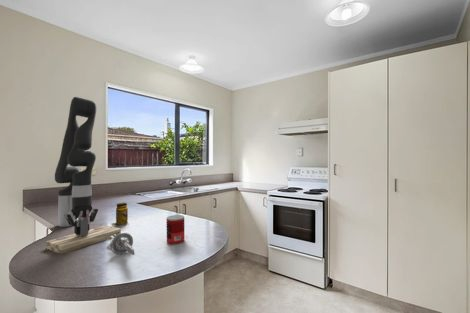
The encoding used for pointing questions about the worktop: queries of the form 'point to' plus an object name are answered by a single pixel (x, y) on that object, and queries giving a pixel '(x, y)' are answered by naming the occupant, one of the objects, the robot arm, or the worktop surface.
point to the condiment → (121, 215)
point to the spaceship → (122, 243)
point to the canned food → (175, 229)
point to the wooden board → (81, 239)
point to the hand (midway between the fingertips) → (82, 233)
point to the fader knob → (83, 227)
